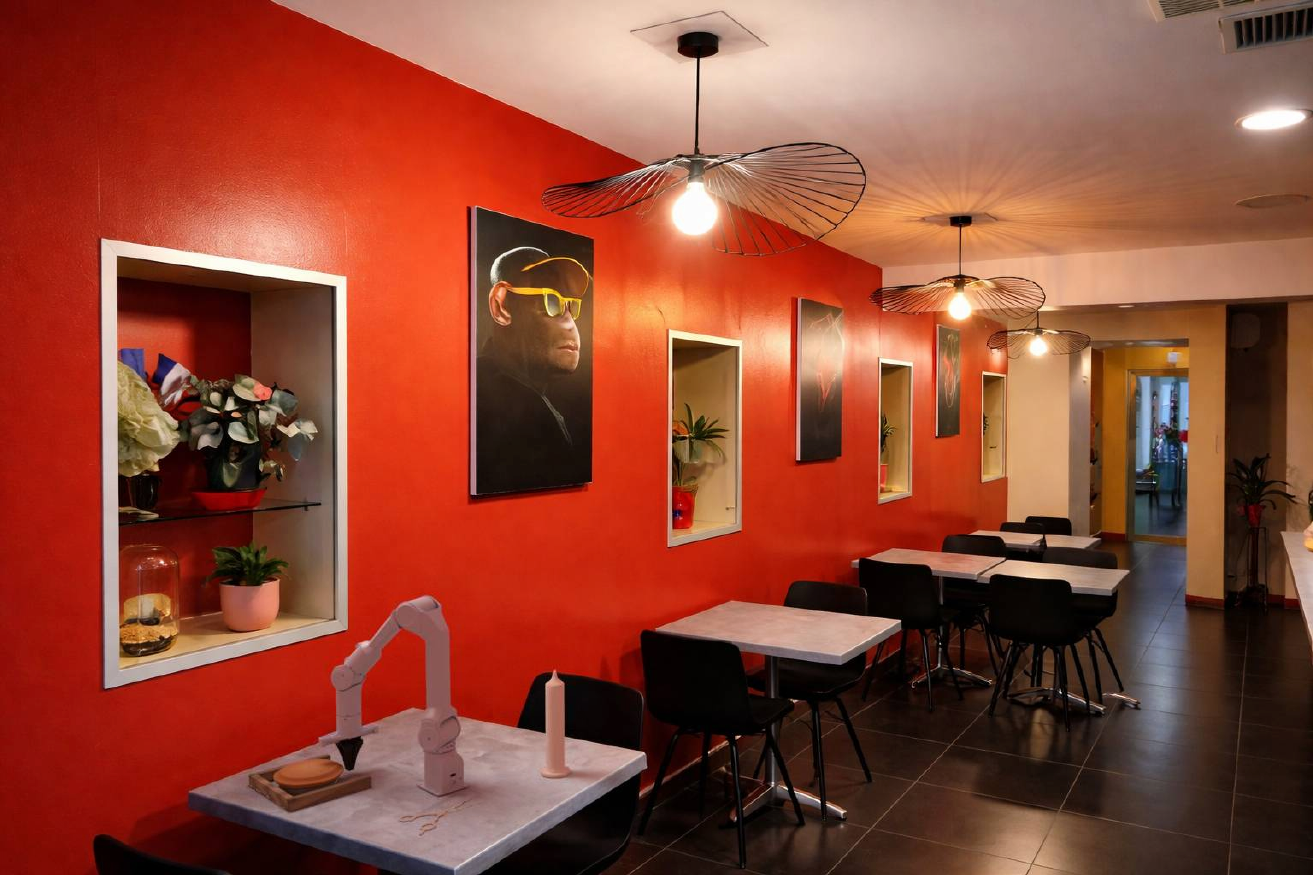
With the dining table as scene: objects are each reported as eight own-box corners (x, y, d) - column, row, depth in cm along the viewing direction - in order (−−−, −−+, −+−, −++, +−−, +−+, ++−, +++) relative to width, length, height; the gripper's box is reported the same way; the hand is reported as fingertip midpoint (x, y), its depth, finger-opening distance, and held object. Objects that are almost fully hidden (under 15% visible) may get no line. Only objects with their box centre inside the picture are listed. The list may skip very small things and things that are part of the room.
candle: (562, 779, 222) (562, 674, 222) (535, 776, 225) (535, 672, 225) (574, 769, 229) (574, 667, 229) (548, 766, 231) (547, 665, 231)
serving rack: (371, 787, 219) (371, 776, 219) (289, 811, 205) (289, 800, 205) (327, 763, 234) (327, 753, 234) (248, 785, 220) (248, 774, 220)
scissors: (389, 820, 199) (464, 791, 215) (389, 824, 199) (464, 794, 215) (420, 834, 192) (495, 803, 208) (420, 838, 192) (495, 806, 208)
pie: (259, 790, 217) (259, 768, 217) (318, 770, 230) (318, 750, 230) (298, 805, 208) (298, 783, 208) (357, 784, 221) (357, 763, 221)
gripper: (368, 703, 234) (368, 757, 234) (312, 716, 224) (312, 773, 224) (382, 709, 229) (383, 764, 229) (326, 722, 219) (326, 780, 219)
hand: (349, 769), depth 226 cm, fingers closed
